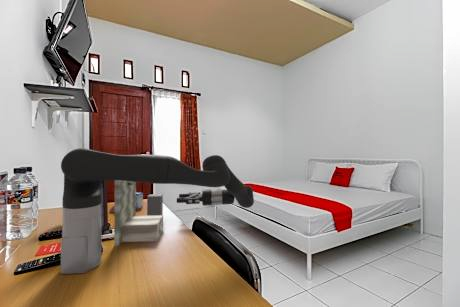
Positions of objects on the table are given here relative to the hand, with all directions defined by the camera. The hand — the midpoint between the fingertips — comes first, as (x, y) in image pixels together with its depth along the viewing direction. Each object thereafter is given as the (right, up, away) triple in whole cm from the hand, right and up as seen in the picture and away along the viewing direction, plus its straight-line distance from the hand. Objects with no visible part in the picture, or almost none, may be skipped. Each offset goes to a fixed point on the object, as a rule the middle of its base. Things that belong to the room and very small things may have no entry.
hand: (177, 198), depth 106 cm
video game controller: (-34, -10, +11) cm, 37 cm away
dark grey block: (-11, -10, -1) cm, 15 cm away
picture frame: (-33, -10, -20) cm, 40 cm away
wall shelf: (-9, -10, -19) cm, 24 cm away
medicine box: (-30, -10, +22) cm, 38 cm away
